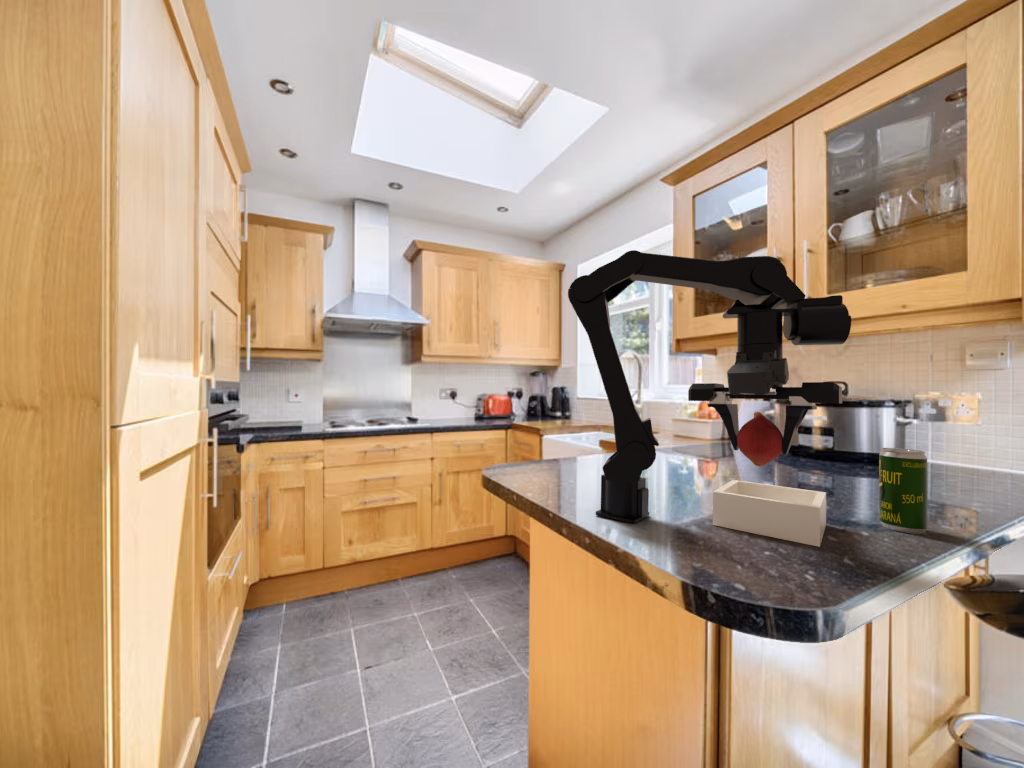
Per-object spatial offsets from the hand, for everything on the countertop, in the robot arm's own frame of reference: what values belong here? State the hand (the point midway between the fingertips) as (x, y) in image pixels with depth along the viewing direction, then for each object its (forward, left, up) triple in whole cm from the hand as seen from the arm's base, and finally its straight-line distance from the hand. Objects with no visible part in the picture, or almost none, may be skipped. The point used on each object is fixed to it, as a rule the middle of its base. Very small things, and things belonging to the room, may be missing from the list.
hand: (759, 452), depth 60 cm
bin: (+1, +5, -11) cm, 12 cm away
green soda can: (+16, +18, -12) cm, 27 cm away
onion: (0, 0, -2) cm, 2 cm away
